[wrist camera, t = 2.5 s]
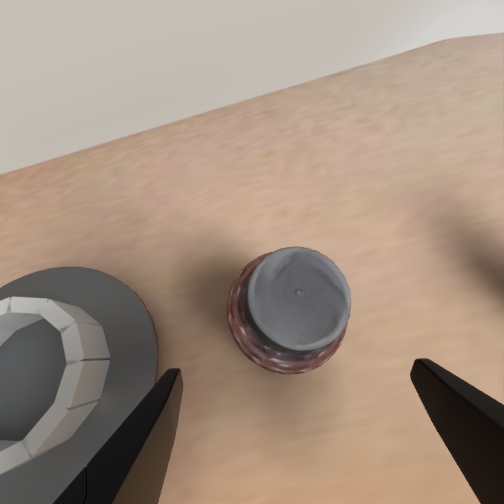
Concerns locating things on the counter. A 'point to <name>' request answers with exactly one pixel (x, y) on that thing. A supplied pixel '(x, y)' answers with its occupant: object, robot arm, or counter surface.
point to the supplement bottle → (289, 310)
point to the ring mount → (66, 375)
